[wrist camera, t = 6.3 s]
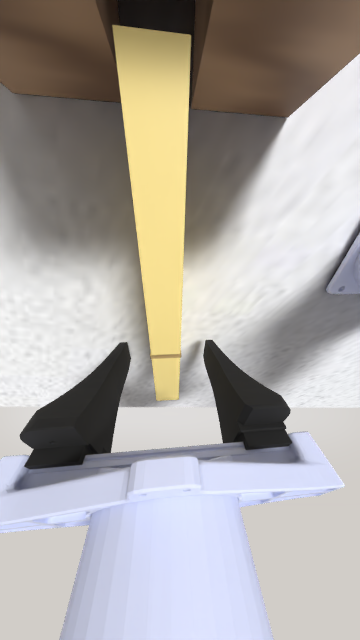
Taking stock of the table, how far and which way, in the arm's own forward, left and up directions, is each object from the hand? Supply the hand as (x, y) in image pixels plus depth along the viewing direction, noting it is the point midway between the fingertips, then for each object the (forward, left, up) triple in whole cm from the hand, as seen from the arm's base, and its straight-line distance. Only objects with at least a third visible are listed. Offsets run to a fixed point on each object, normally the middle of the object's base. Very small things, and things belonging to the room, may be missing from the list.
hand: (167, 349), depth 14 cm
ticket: (0, -6, -1) cm, 6 cm away
